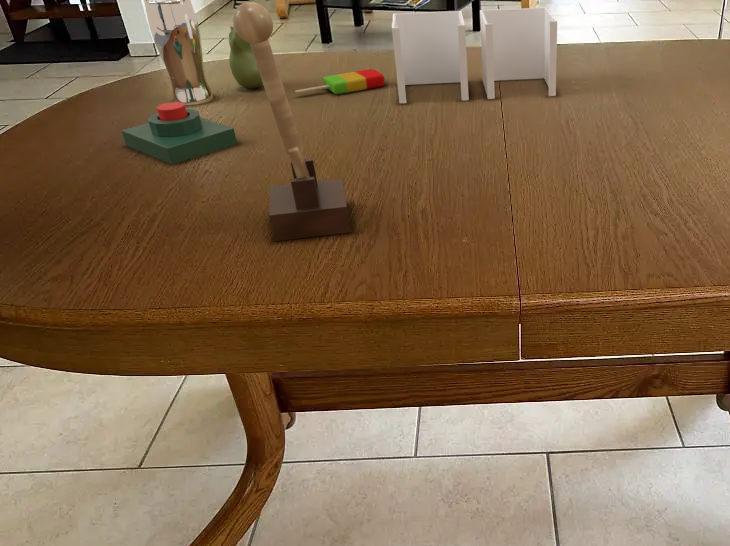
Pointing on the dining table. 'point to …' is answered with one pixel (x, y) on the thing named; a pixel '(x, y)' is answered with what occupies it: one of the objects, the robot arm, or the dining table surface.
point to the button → (172, 111)
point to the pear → (243, 62)
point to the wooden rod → (270, 76)
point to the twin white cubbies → (498, 47)
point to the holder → (308, 207)
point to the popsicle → (350, 82)
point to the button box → (179, 137)
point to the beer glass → (179, 48)
